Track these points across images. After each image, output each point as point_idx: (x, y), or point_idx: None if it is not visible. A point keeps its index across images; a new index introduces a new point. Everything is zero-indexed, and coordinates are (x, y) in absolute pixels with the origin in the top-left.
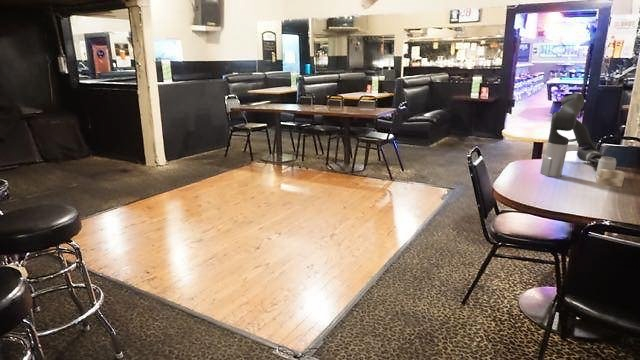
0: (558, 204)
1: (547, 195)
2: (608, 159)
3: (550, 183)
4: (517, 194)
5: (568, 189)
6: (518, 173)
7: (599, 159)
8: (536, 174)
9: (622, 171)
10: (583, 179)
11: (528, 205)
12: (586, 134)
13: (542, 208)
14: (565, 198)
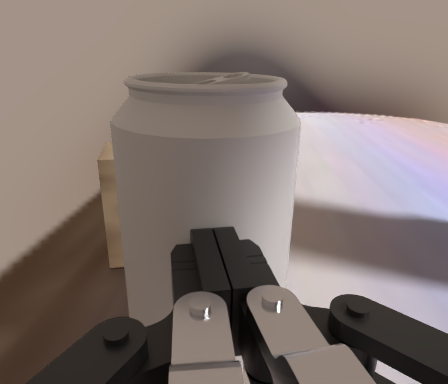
0: (328, 121)
1: (372, 134)
2: (215, 76)
3: (439, 179)
4: (427, 127)
5: (350, 162)
6: None
7: (298, 118)
8: None
9: (103, 155)
10: (355, 273)
11: (370, 114)
12: None
13: (344, 113)
14: (328, 133)
